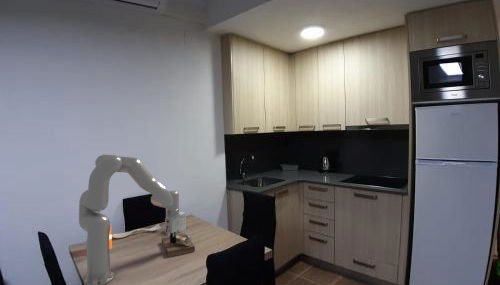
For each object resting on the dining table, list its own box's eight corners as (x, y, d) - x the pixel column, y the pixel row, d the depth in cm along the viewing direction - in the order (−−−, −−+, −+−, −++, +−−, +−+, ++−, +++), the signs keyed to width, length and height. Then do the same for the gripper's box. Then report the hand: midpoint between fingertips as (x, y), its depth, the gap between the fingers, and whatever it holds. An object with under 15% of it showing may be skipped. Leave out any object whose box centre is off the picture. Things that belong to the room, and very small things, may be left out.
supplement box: (171, 231, 191) (170, 213, 190) (178, 227, 197) (178, 210, 197) (179, 232, 187) (178, 214, 187) (186, 229, 194) (186, 212, 194)
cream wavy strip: (162, 231, 191) (162, 226, 191) (111, 241, 175) (111, 236, 174) (159, 228, 199) (159, 223, 198) (110, 237, 182) (110, 232, 182)
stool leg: (191, 244, 159) (191, 238, 158) (187, 246, 156) (187, 240, 156) (175, 240, 165) (175, 234, 165) (171, 242, 163) (171, 236, 162)
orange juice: (106, 244, 169) (104, 213, 169) (112, 248, 164) (111, 215, 163) (92, 248, 163) (91, 216, 163) (98, 252, 158) (97, 219, 157)
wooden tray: (194, 251, 157) (194, 241, 157) (168, 257, 150) (168, 246, 150) (185, 237, 178) (184, 228, 178) (161, 242, 172) (161, 232, 171)
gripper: (170, 216, 150) (170, 248, 151) (185, 209, 164) (185, 238, 165) (159, 215, 153) (159, 246, 153) (174, 208, 167) (175, 237, 167)
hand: (173, 242), depth 159 cm, fingers closed
